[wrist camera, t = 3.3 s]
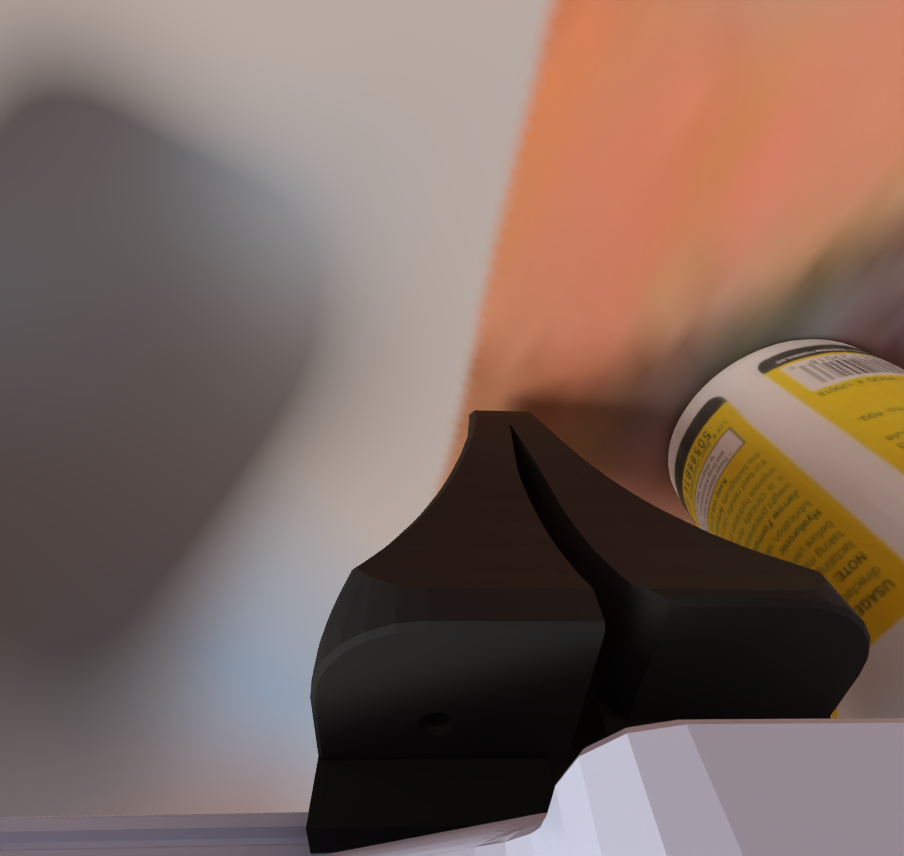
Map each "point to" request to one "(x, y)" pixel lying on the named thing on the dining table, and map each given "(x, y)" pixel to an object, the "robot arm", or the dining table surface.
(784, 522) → the supplement bottle
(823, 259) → the dining table surface
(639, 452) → the dining table surface
